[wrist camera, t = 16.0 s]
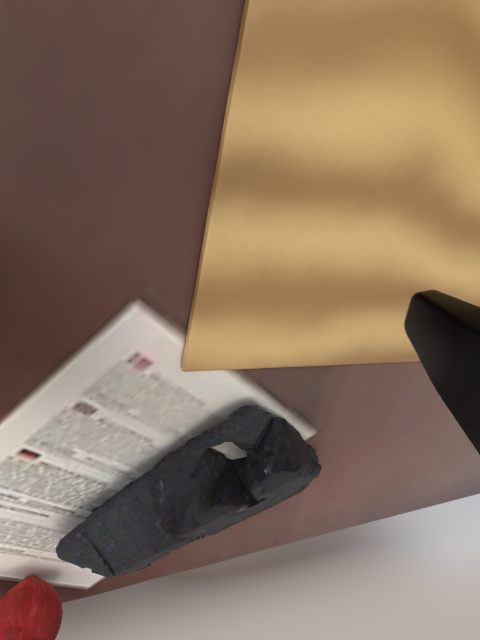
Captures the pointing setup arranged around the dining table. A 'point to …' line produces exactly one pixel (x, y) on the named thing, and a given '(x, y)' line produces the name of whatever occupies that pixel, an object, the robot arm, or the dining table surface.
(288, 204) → the mat
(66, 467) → the dining table surface
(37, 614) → the onion
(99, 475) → the dining table surface
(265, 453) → the dark slate chunk
